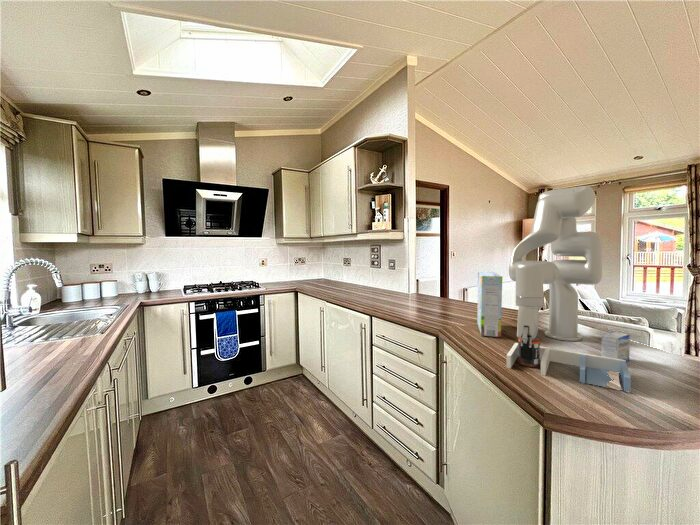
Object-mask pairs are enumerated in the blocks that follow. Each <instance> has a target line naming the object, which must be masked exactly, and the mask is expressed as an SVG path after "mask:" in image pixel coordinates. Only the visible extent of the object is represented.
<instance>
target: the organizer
mask: <svg viewBox="0 0 700 525" xmlns="http://www.w3.org/2000/svg"><path fill="white" fill-rule="evenodd" d="M517 358H518V342H515V343H514V344H513V345H512V347H511V348H510V350H509V351H508V352H507V354H506V359H505V360H506V361H505V363H506V368H507V369H512V367H513V365H514V364H515V362H516V360H517ZM550 362H552V363H557V364H563V365H569V366H574V365H575V366H574V367H579V383H580V382H581V383H580V384H583V383H585V384H587V383H588V384H587V385H589V384H593V385H592V386H594V385H598V386H597V387H599V386H603V387H605V386H606V385H607V382H608V383H609V381H611V380H612V379H611V378H610V377H609V375H608V373H607V372H609V371H613V372H620V374H619V376H620V375H621V376H620V380H621V379H622V380H621V384H622V383H623V385H622V388H623V387H624V389H623V391H629V392H632V390H631V388H632V386H631V385H632V378H631V372H630V370H629V368H628V364H627V361H626V360H622V359H616V358H609V357H603V356H602V355H597V354H596V355H595V354H589V353H584V352H578V351H577V352H576V351H570V350H564V349H557V348H551V347H545V346H540V375H541V376H546V375H547V372H548V370H549V366H550ZM607 375H608V376H607ZM613 380H614V379H613ZM613 380H612V381H613ZM603 387H602V388H603Z"/></svg>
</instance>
